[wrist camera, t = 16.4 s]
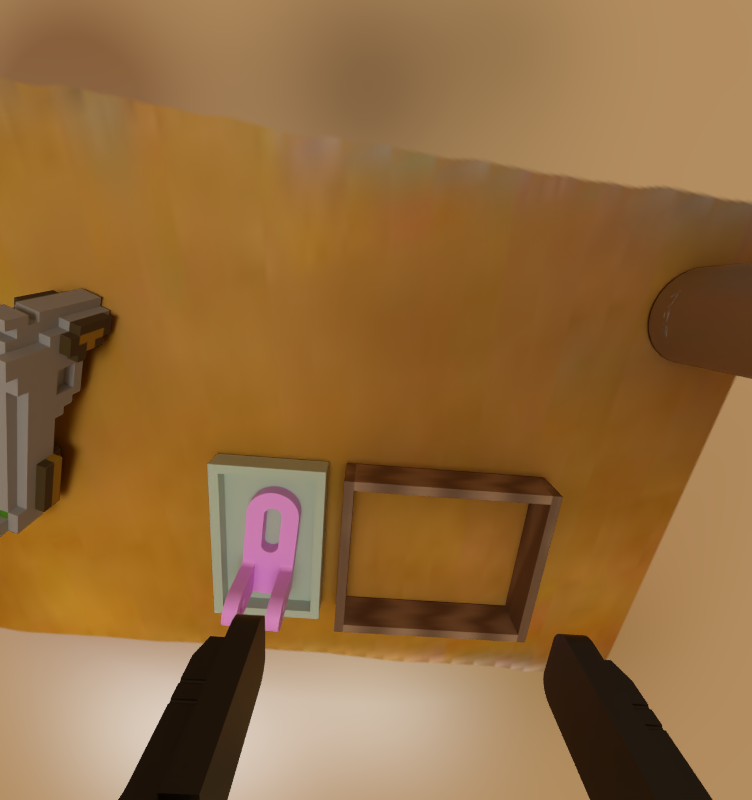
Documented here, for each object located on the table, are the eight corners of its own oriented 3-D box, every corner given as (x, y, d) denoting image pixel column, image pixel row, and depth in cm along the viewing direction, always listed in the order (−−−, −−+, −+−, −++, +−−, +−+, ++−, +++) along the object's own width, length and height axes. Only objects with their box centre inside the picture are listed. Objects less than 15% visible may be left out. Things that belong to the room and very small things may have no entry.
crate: (544, 477, 40) (562, 496, 36) (511, 612, 45) (524, 642, 41) (347, 463, 39) (344, 481, 35) (337, 602, 44) (334, 631, 40)
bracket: (291, 586, 42) (276, 641, 36) (244, 580, 42) (220, 634, 35) (304, 490, 39) (289, 530, 32) (252, 482, 38) (227, 521, 32)
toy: (120, 306, 34) (17, 335, 25) (97, 479, 44) (17, 544, 35) (62, 279, 33) (-65, 299, 24) (51, 461, 43) (-41, 523, 34)
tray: (328, 461, 39) (326, 472, 36) (321, 601, 44) (318, 618, 42) (217, 453, 38) (207, 463, 36) (223, 595, 44) (214, 612, 41)
